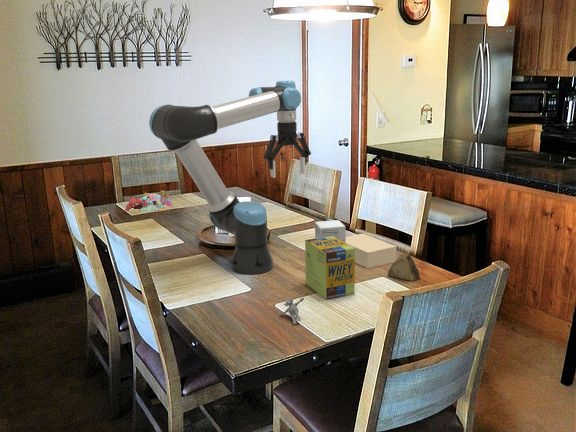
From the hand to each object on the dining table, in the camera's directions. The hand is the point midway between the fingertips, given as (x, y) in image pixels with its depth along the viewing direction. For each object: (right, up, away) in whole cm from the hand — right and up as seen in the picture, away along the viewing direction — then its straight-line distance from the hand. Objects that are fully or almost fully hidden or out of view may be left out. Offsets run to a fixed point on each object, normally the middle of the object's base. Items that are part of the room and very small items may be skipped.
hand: (288, 175), depth 223 cm
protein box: (+14, -40, -40) cm, 58 cm away
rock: (+39, -38, -32) cm, 63 cm away
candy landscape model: (-72, -13, +70) cm, 102 cm away
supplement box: (+15, -36, -22) cm, 45 cm away
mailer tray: (+23, -29, -1) cm, 37 cm away
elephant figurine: (+2, -46, -61) cm, 77 cm away
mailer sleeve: (+29, -32, -12) cm, 45 cm away
